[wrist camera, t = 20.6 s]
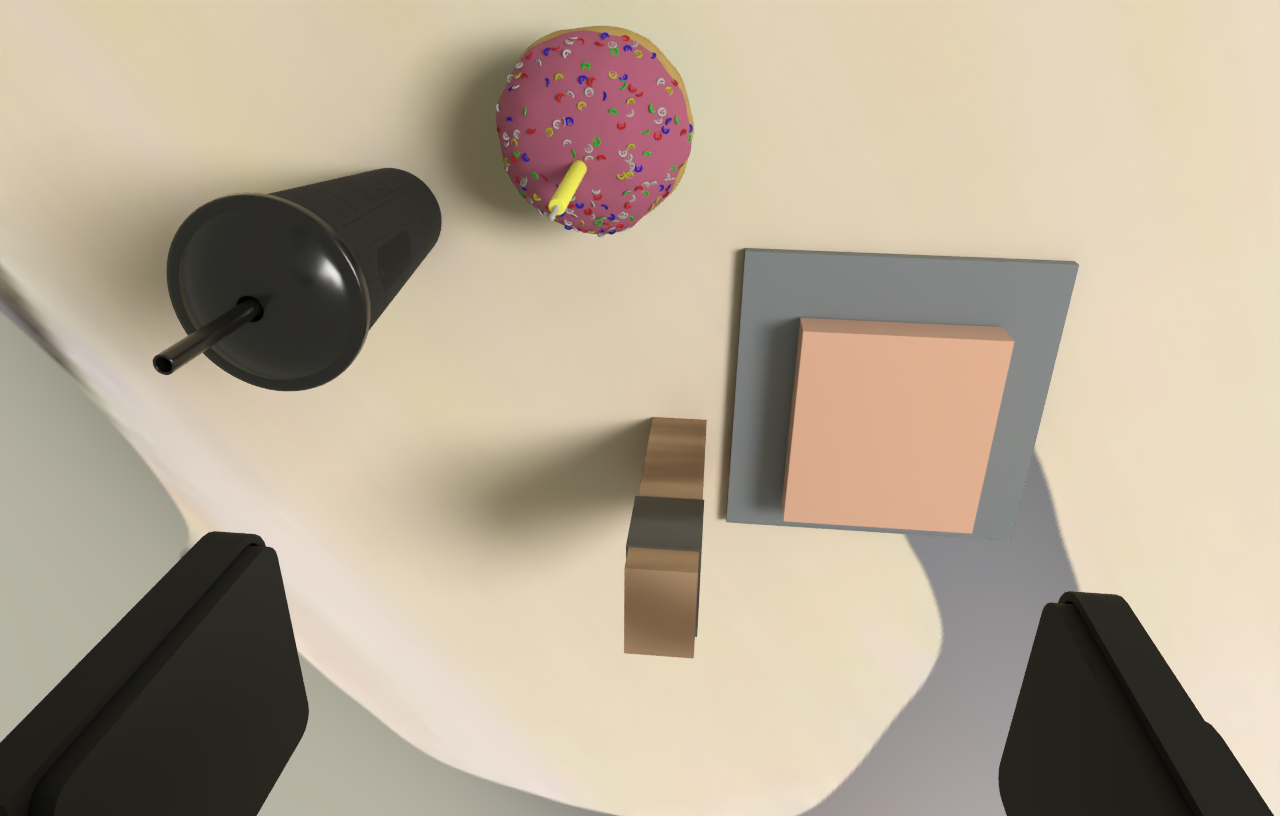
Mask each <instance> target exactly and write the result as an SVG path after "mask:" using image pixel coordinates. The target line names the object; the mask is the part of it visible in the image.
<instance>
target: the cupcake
mask: <svg viewBox="0 0 1280 816" xmlns="http://www.w3.org/2000/svg"><path fill="white" fill-rule="evenodd" d="M509 78H510V79H509ZM507 82H508V83H507V85H506V87H505V89H504V92H503V94H502V96H501V98H500V100H499V103H498V104H497V105H496V109H497V113H496V120H497V131H498V133H499V138H500V143H501V149H502V155H503V160H504V164H505V172H508V175H509V177H510V178H511V180H512V182H513V183H514V185H515V186H516V188H517V189H518V190H519V192H520V194H521V195H522V196H523V197H524V198H525V199H527V201H528V202H529V203H530V204H532V205H533V206H534V207H535V208H536V209H538V211H539V213H540V214H541V215H543V214H544V216H545V217H546V218H549V220H550V221H551V222H552V221H553V220H554V221H556V222H558V223H561V224H563V225H565V229H567V230H570V229H574V230H575V231H577V232H579V231H582V232H583V233H585V232H586V233H591V234H598V236H599V237H604V236H605V235H606V234H614V233H615V232H620V231H625V230H627V229H629V228H631V227H633V226H634V225H635V224H636V223H637V222H638V221H639V220H640V219H641V218H642V217H643V216H644V215H646V214H648V213H649V212H651V211H652V210H653V209H655V208H656V207H657V206H658V205H659V204H660V203H661V202H663V201H664V200H665V199H666V198H667V197H668V196H669V195H670V194H671V193H672V192H673V191H674V189H675V188H676V187H677V185H678V184H679V182H680V180H681V178H682V176H683V174H684V171H685V168H686V164H687V160H688V157H689V155H690V151H691V141H692V137H693V132H694V123H693V118H692V113H691V109H690V105H689V101H688V97H687V93H686V89H685V86H684V83H683V80H682V78H681V76H680V74H679V72H678V71H677V70H676V68H675V67H674V66H673V65H672V64H671V62H670V61H669V60H668V59H667V58H666V57H665V56H664V54H663V53H662V52H661V51H660V50H659V49H658V48H657V47H656V46H655V45H654V44H653V43H652V42H651V41H650V40H648V39H647V38H645V37H643V36H641V35H639V34H637V33H634V32H632V31H629V30H627V29H623V28H618V27H611V26H592V27H583V28H576V29H569V30H560V31H556V32H553V33H551V34H549V35H547V36H545V37H543V38H541V39H539V40H537V41H536V42H535V43H533V44H532V45H531V46H530V47H529V48H528V49H527V50H526V51H525V52H524V53H523V55H522V56H521V58H520V60H519V62H518V63H517V64H516V66H515V69H514V70H513V72H512V74H509V75H508V76H507ZM601 235H602V236H601Z"/></svg>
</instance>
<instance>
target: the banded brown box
mask: <svg viewBox="0 0 1280 816" xmlns="http://www.w3.org/2000/svg"><path fill="white" fill-rule="evenodd" d="M706 421H707V420H694V419H675V418H656V417H653V419H652V424H651V429H650V435H649V440H648V445H647V451H646V456H645V461H644V467H643V472H642V478H641V483H640V488H639V494H638V496H636V497H635V502H634V507H633V512H632V517H631V523H630V528H629V533H628V538H627V544H626V563H625V601H624V653H629V654H643V655H656V656H669V657H683V658H694V641H695V637H697V628H698V609H699V590H700V571H701V551H702V532H703V512H704V500H703V481H704V461H705V441H706Z"/></svg>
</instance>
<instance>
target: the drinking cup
mask: <svg viewBox="0 0 1280 816" xmlns="http://www.w3.org/2000/svg"><path fill="white" fill-rule="evenodd" d="M440 231H441V212H440V208H439V205H438V202H437V200H436V198H435V196H434V195H433V193H432V192H431V190H430V189H429V188H428V187H427V185H426V184H425V183H424V182H422V181H421V180H420V179H419V178H417V177H416V176H414V175H413V174H411V173H409V172H406V171H403V170H400V169H394V168H384V169H378V170H374V171H369V172H365V173H360V174H356V175H351V176H347V177H342V178H338V179H333V180H329V181H324V182H320V183H315V184H311V185H306V186H302V187H297V188H293V189H288V190H284V191H279V192H275V193H270V194H260V193H238V194H232V195H227V196H224V197H220V198H217V199H215V200H213V201H210V202H208V203H206V204H204V205H203V206H201V207H199V208H198V209H196V210H195V211H194V212H193V213H191V214H190V215H189V216H188V217H187V218H186V219H185V221H184V222H183V223H182V224H181V226H180V227H179V229H178V231H177V232H176V234H175V236H174V239H173V241H172V243H171V247H170V250H169V254H168V260H167V283H168V290H169V294H170V298H171V302H172V305H173V308H174V310H175V312H176V315H177V317H178V319H179V321H180V323H181V325H182V327H183V328H184V330H185V331H186V333H187V334H188V336H187V337H185V338H184V339H182V340H180V341H179V342H177V343H176V344H174V345H172V346H171V347H169V348H168V349H166V350H164V351H163V352H161V353H159V354H158V355H156V356H155V357H154V358H153V366H154V368H155V369H156V370H157V371H158V372H159V373H161V374H164V375H169V374H171V373H173V372H174V371H176V370H177V369H179V368H180V367H182V366H183V365H185V364H186V363H188V362H189V361H191V360H192V359H194V358H195V357H197V356H198V355H200V354H201V353H203V354H204V355H206V356H207V357H208V358H209V359H210V360H211V361H212V362H213V363H215V364H216V365H217V366H219V367H220V368H221V369H223V370H224V371H226V372H227V373H229V374H231V375H232V376H234V377H236V378H238V379H240V380H242V381H244V382H247V383H249V384H252V385H255V386H258V387H261V388H265V389H270V390H277V391H301V390H307V389H311V388H315V387H318V386H321V385H324V384H326V383H328V382H330V381H332V380H333V379H335V378H336V377H338V376H339V375H340V374H341V373H343V372H344V371H345V370H346V369H347V368H348V367H349V366H350V365H351V364H352V363H353V362H354V360H355V359H356V358H357V356H358V355H359V353H360V351H361V349H362V348H363V345H364V343H365V340H366V337H367V334H368V331H369V330H370V328H371V327H372V326H373V325H374V323H375V322H376V321H377V319H378V318H379V317H380V315H381V314H382V313H383V312H384V310H385V309H386V308H387V306H388V305H389V304H390V302H391V301H392V300H393V299H394V297H395V296H396V295H397V293H398V292H399V291H400V290H401V288H402V287H403V286H404V284H405V283H406V282H407V280H408V279H409V278H410V277H411V275H412V274H413V273H414V271H415V270H416V269H417V267H418V266H419V265H420V264H421V262H422V261H423V260H424V258H425V257H426V256H427V255H428V253H429V252H430V251H431V249H432V248H433V247H434V245H435V244H436V242H437V240H438V238H439V235H440Z"/></svg>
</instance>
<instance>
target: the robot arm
mask: <svg viewBox="0 0 1280 816" xmlns="http://www.w3.org/2000/svg"><path fill="white" fill-rule="evenodd" d="M308 714H309V708H308V701H307V696H306V691H305V686H304V682H303V677H302V672H301V667H300V663H299V658H298V653H297V648H296V643H295V638H294V633H293V628H292V624H291V619H290V614H289V609H288V604H287V599H286V595H285V590H284V585H283V580H282V575H281V570H280V566H279V561H278V557H277V554H276V551H275V550H274V549H273V548H271V547H266V546H265V543H264V541H263V539H262V538H261V537H260V536H258V535H256V534H244V533H230V532H216V531H214V532H209V533H207V534H206V535H205V536H203V537H202V538H201V539H200V540H199V541H198V542H197V543H196V544H195V545H194V546H193V547H192V548H191V549H190V550H189V551H188V552H187V553H186V554H185V555H184V556H183V557H182V558H181V559H180V560H179V561H178V562H177V563H176V564H175V565H174V567H172V569H171V570H170V571H169V572H168V573H167V574H166V575H165V576H164V577H163V578H162V579H161V580H160V581H159V582H158V583H157V584H156V585H155V586H154V587H153V588H152V589H151V590H150V591H149V592H148V593H147V594H146V595H145V596H144V597H143V598H142V599H141V600H140V601H139V602H138V603H137V604H136V605H135V606H134V607H133V608H132V609H131V610H130V611H129V612H128V613H127V614H126V616H124V617H123V618H122V619H121V621H119V623H117V625H116V626H115V627H114V628H113V629H112V630H111V631H110V632H109V633H108V634H107V635H106V636H105V637H104V638H103V639H102V640H101V641H100V642H99V643H98V644H97V645H96V646H95V647H94V648H93V649H92V650H91V651H90V652H89V653H88V654H87V655H86V656H85V657H84V658H83V659H82V660H81V661H80V662H79V663H78V664H77V665H76V666H75V668H73V669H72V670H71V671H70V672H69V673H68V675H66V677H65V678H63V680H61V682H60V683H59V684H58V685H57V686H56V687H55V688H54V689H53V690H52V691H51V692H50V693H49V694H48V695H47V696H46V697H45V698H44V699H43V700H42V701H41V702H40V703H39V704H38V705H37V706H36V707H35V708H34V709H33V710H32V711H31V712H30V713H29V714H28V715H27V716H26V717H25V718H24V719H23V720H22V721H21V722H20V723H19V724H18V725H17V726H16V727H15V728H14V729H13V730H12V731H11V732H10V733H9V734H8V735H7V736H6V738H5V739H4V740H3V741H2V742H1V743H0V816H257V814H258V812H259V810H260V809H261V807H262V805H263V803H264V802H265V800H266V798H267V797H268V795H269V793H270V792H271V790H272V788H273V786H274V785H275V783H276V781H277V779H278V778H279V776H280V774H281V773H282V771H283V769H284V767H285V765H286V764H287V762H288V761H289V759H290V757H291V755H292V754H293V752H294V750H295V748H296V747H297V745H298V743H299V742H300V740H301V738H302V736H303V734H304V732H305V729H306V725H307V721H308ZM999 789H1000V795H1001V799H1002V802H1003V805H1004V808H1005V811H1006V814H1007V816H1274V815H1273V813H1272V812H1271V810H1270V809H1269V807H1268V806H1267V804H1266V803H1265V801H1264V800H1263V798H1262V797H1261V795H1260V794H1259V792H1258V791H1257V789H1256V788H1255V786H1254V785H1253V783H1252V782H1251V780H1250V779H1249V777H1248V776H1247V774H1246V773H1245V771H1244V770H1243V768H1242V767H1241V765H1240V764H1239V762H1238V761H1237V759H1236V758H1235V756H1234V755H1233V753H1232V752H1231V750H1230V749H1229V747H1228V746H1227V744H1226V743H1225V741H1224V740H1223V738H1222V737H1221V736H1220V734H1219V733H1218V732H1217V731H1216V730H1215V729H1214V727H1213V726H1212V725H1211V724H1209V723H1207V722H1205V721H1204V719H1203V718H1202V716H1201V714H1200V713H1199V711H1198V710H1197V708H1196V707H1195V705H1194V704H1193V702H1192V701H1191V699H1190V698H1189V696H1188V695H1187V693H1186V692H1185V690H1184V689H1183V687H1182V685H1181V684H1180V682H1179V681H1178V679H1177V678H1176V676H1175V675H1174V673H1173V672H1172V670H1171V669H1170V667H1169V666H1168V664H1167V663H1166V661H1165V660H1164V658H1163V656H1162V655H1161V653H1160V652H1159V650H1158V649H1157V647H1156V646H1155V644H1154V643H1153V641H1152V640H1151V638H1150V637H1149V635H1148V634H1147V632H1146V631H1145V629H1144V627H1143V626H1142V624H1141V623H1140V621H1139V620H1138V618H1137V617H1136V615H1135V614H1134V612H1133V611H1132V609H1131V608H1130V606H1129V605H1128V603H1127V602H1126V601H1125V600H1124V599H1123V597H1121V596H1118V595H1113V594H1099V593H1085V592H1070V591H1069V592H1065V593H1064V594H1063V595H1062V596H1061V597H1060V599H1059V602H1058V603H1048V604H1046V606H1045V607H1044V609H1043V611H1042V615H1041V618H1040V622H1039V625H1038V629H1037V633H1036V636H1035V640H1034V643H1033V647H1032V651H1031V654H1030V658H1029V662H1028V665H1027V668H1026V672H1025V676H1024V679H1023V683H1022V687H1021V690H1020V694H1019V697H1018V701H1017V704H1016V708H1015V712H1014V715H1013V719H1012V722H1011V726H1010V730H1009V734H1008V737H1007V741H1006V744H1005V748H1004V751H1003V755H1002V759H1001V762H1000V767H999Z"/></svg>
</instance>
